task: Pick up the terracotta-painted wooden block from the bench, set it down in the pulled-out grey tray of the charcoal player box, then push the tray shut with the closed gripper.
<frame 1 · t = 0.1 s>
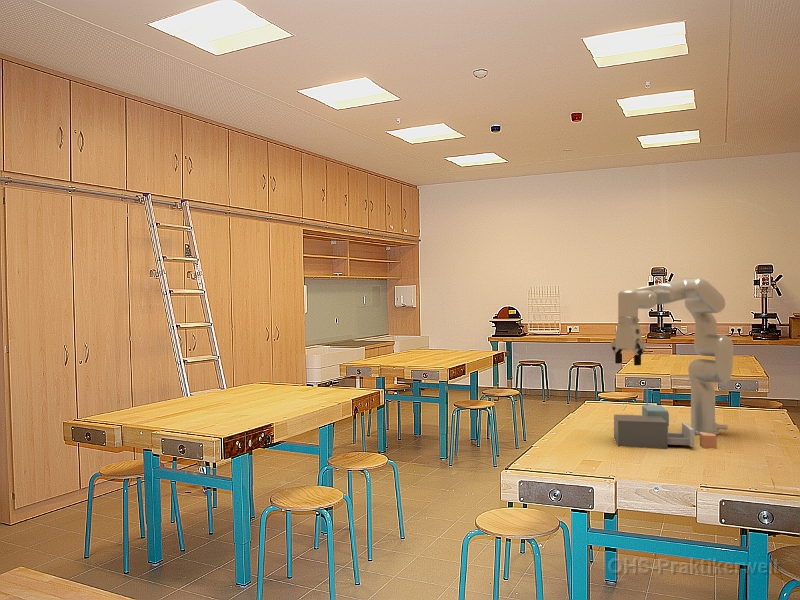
hand: (627, 364, 269), 31 cm above the table, tool pointing down, fingers open, 9 cm apart
radio: (656, 436, 282), on the table
block: (708, 447, 260), on the table
housing: (639, 443, 267), on the table
tray: (666, 433, 264), point 4 cm above the table, slide at 8.0 cm
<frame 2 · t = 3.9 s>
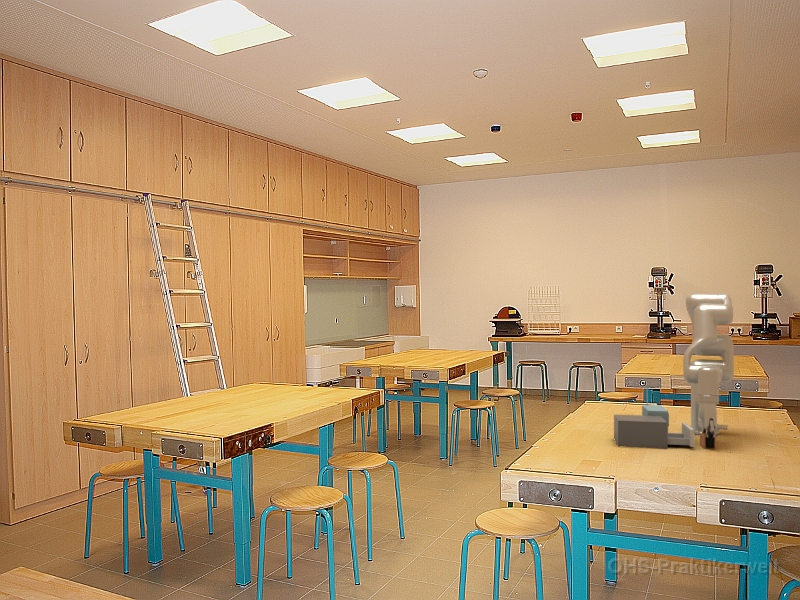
hand: (708, 445, 260), 0 cm above the table, tool pointing down, fingers closed on block, 5 cm apart
block: (708, 447, 260), on the table, touching gripper
everything else where it was.
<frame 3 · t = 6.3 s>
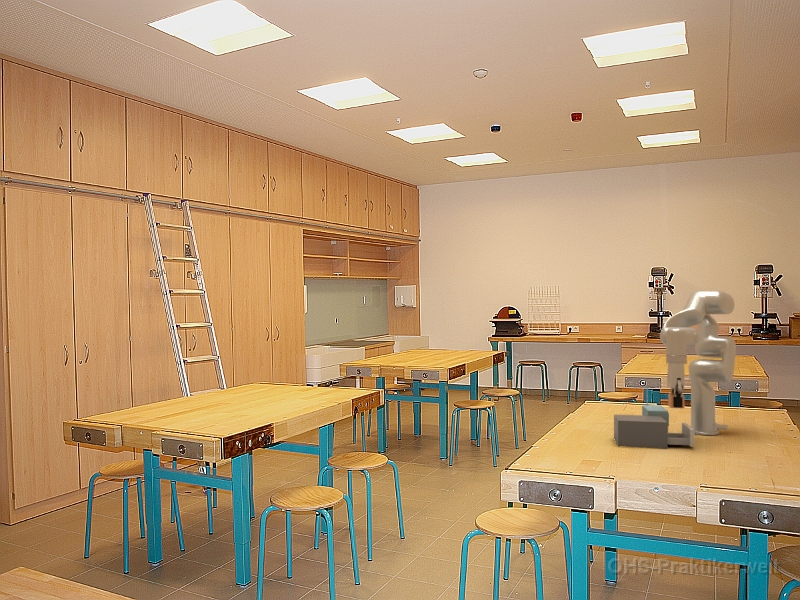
hand: (676, 405, 264), 15 cm above the table, tool pointing down, fingers closed on block, 4 cm apart
block: (676, 407, 264), point 15 cm above the table, touching gripper
everything else where it was.
when the fingers open (4 cm above the table, at t = 8.8 s): block drops 1 cm, resting on tray.
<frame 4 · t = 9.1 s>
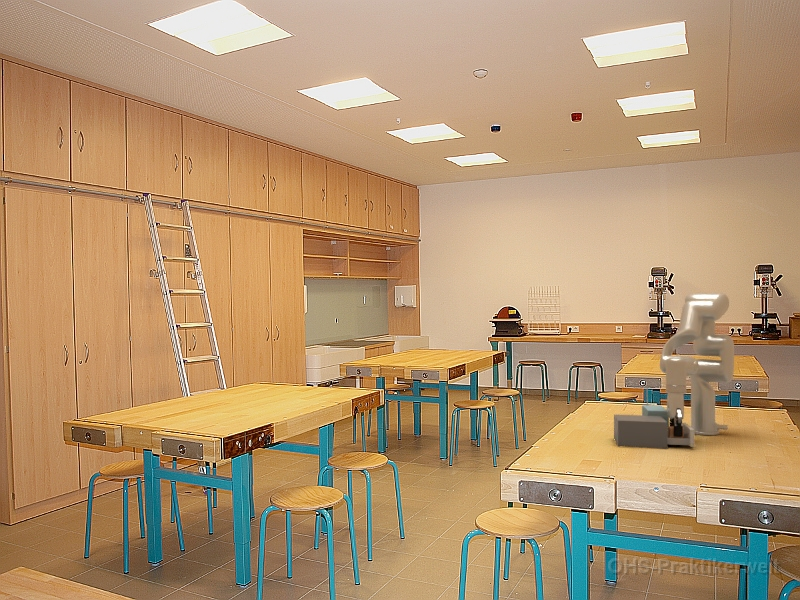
hand: (676, 434, 264), 4 cm above the table, tool pointing down, fingers open, 7 cm apart
block: (675, 440, 264), point 2 cm above the table, touching tray
tray: (666, 433, 264), point 4 cm above the table, slide at 8.0 cm, touching block
everything else where it was.
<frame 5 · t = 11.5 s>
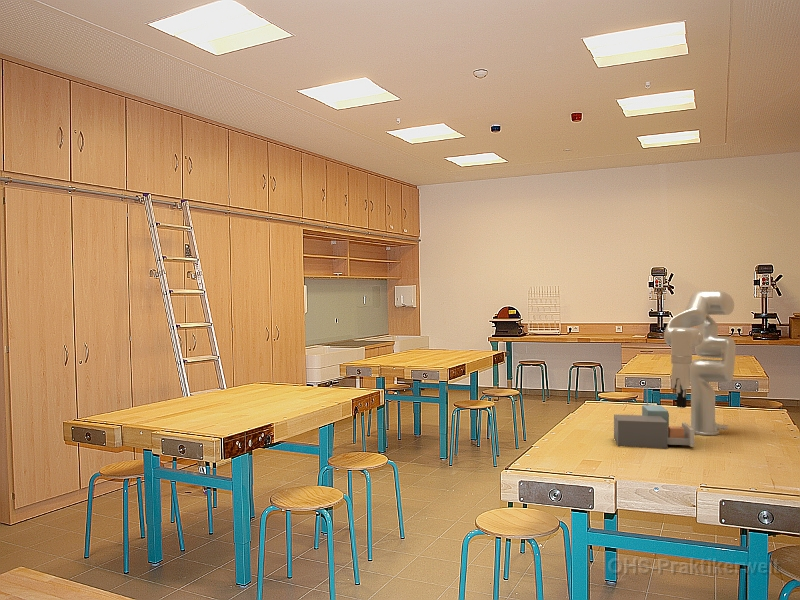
hand: (681, 407, 264), 15 cm above the table, tool pointing down, fingers closed
nothing on the table moved.
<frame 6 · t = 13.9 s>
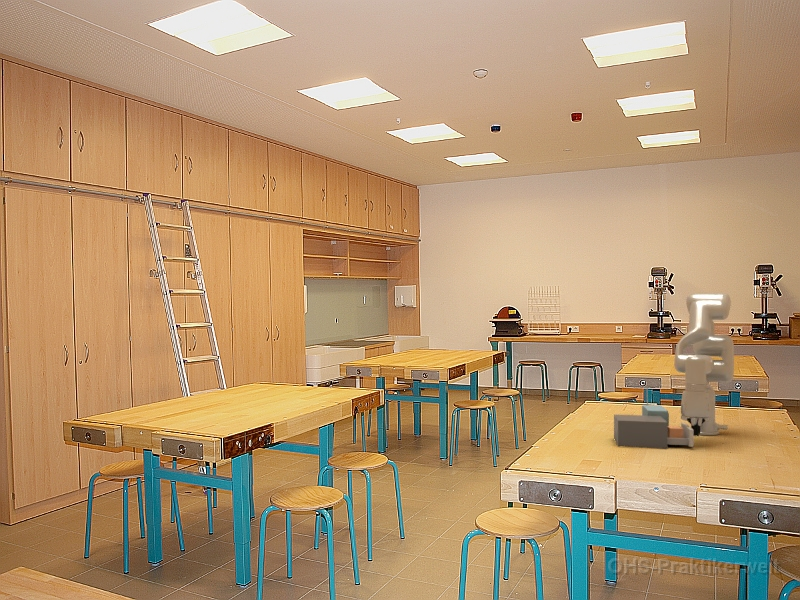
hand: (695, 435, 262), 4 cm above the table, tool pointing down, fingers closed
tray: (666, 433, 265), point 4 cm above the table, slide at 7.7 cm, touching block, gripper
everything else where it was.
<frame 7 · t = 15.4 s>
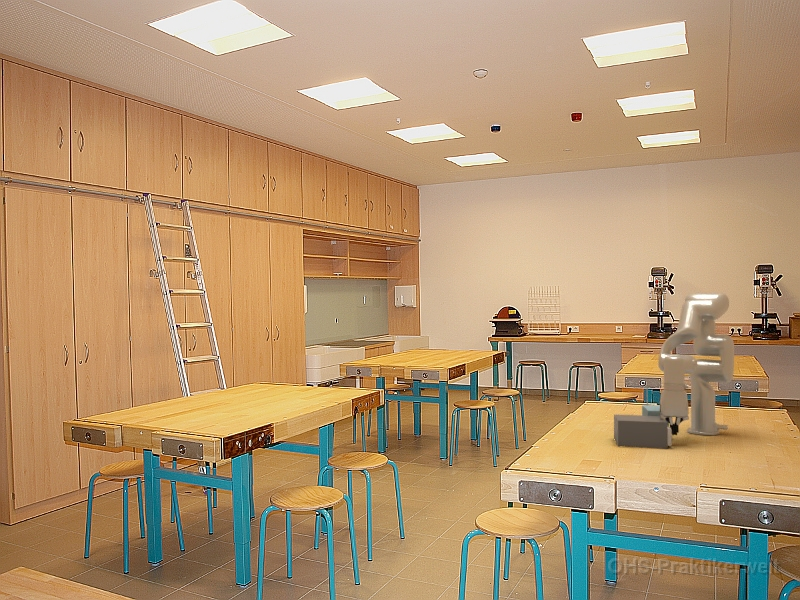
hand: (674, 434, 264), 4 cm above the table, tool pointing down, fingers closed
block: (654, 439, 265), point 2 cm above the table, touching tray
tray: (644, 432, 266), point 4 cm above the table, slide at -0.1 cm, touching block, gripper
everything else where it was.
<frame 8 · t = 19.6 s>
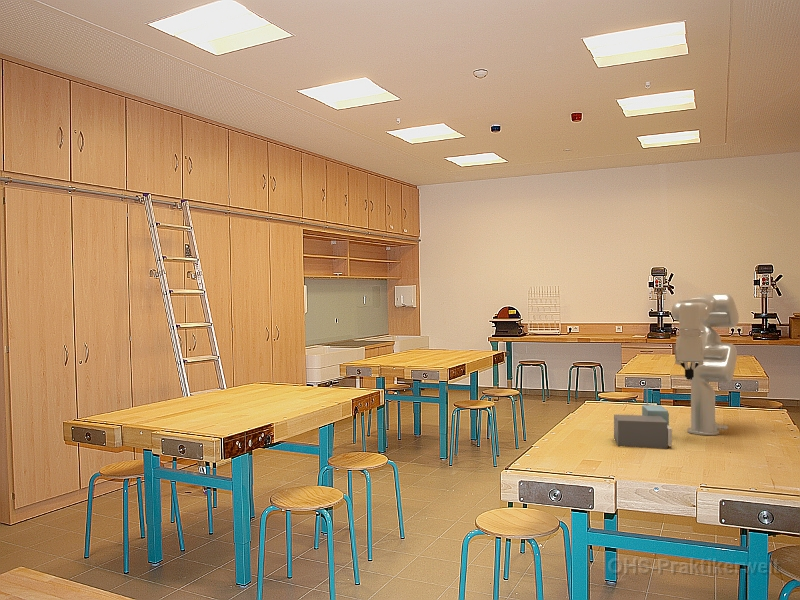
hand: (689, 379, 270), 25 cm above the table, tool pointing down, fingers closed
tray: (645, 432, 266), point 4 cm above the table, slide at 0.0 cm, touching block
everything else where it was.
at the end: tray slide at 0.0 cm; block inside the target area on the housing (5.5 cm from its centre), point 1.9 cm above the housing's base; block tilted 0° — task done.
